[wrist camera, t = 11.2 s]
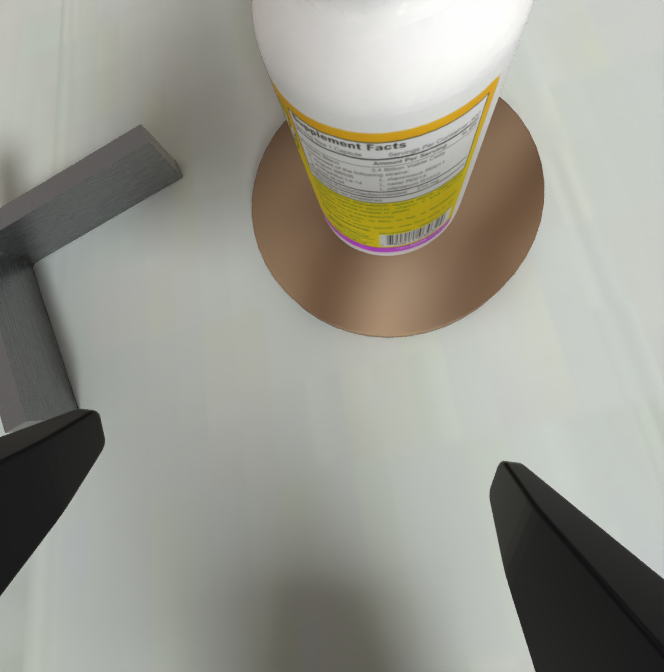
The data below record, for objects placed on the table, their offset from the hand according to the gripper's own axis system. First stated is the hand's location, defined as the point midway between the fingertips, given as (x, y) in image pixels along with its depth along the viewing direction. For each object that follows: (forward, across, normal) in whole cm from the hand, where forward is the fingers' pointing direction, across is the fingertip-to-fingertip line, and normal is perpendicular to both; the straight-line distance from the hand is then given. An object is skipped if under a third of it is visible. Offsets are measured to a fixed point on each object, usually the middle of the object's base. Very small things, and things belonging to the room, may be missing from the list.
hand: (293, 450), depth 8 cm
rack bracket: (+12, +12, +1) cm, 17 cm away
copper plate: (+14, -2, -5) cm, 15 cm away
